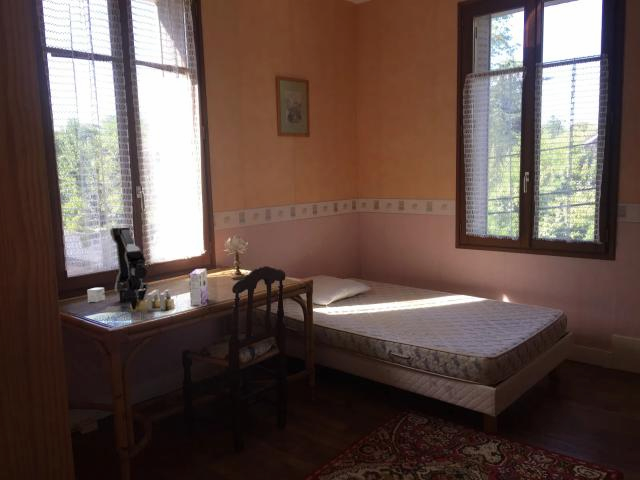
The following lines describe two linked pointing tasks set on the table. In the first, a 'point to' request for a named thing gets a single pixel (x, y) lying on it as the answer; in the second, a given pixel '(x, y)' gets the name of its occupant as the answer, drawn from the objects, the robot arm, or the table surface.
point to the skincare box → (96, 294)
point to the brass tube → (156, 304)
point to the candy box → (198, 287)
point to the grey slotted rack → (149, 302)
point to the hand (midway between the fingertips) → (137, 307)
